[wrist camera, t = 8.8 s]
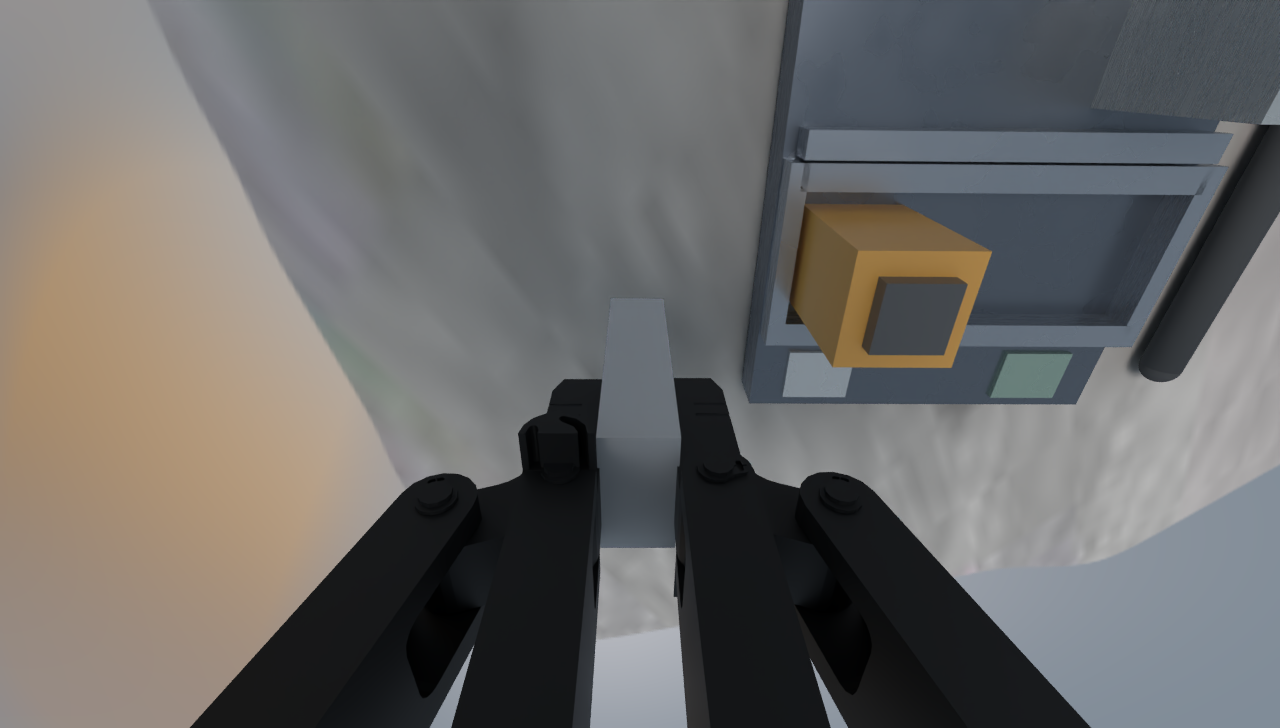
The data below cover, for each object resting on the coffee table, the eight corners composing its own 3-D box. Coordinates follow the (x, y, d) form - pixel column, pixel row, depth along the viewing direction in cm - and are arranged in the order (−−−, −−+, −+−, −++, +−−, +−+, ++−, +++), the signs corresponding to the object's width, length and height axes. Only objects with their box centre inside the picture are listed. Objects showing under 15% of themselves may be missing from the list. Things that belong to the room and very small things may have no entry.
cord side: (1359, -62, 18) (1418, -73, 17) (1404, -62, 18) (1467, -72, 17) (1124, 371, 27) (1150, 388, 26) (1154, 371, 27) (1182, 388, 26)
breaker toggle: (802, 203, 21) (866, 257, 15) (902, 204, 21) (1004, 258, 15) (787, 298, 23) (838, 376, 17) (879, 298, 23) (961, 377, 17)
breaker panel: (801, -97, 18) (921, -213, 10) (1267, -90, 18) (1718, -200, 10) (742, 381, 27) (782, 501, 20) (1047, 382, 27) (1202, 502, 20)
